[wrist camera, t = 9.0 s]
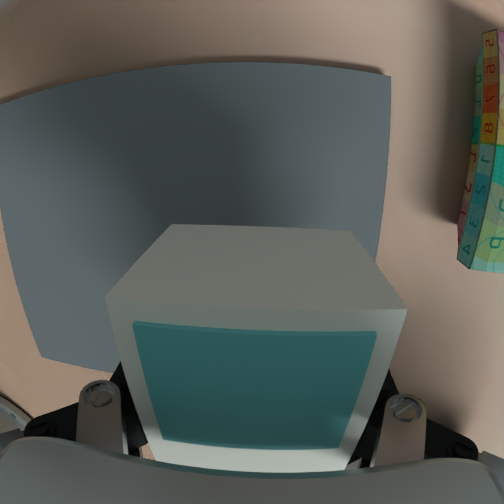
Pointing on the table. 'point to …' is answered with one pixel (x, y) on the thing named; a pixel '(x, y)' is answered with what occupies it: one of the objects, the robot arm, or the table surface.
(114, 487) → the robot arm
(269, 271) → the card box
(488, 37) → the puzzle game
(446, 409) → the table surface
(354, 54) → the table surface
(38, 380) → the table surface
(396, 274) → the table surface
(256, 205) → the mat
